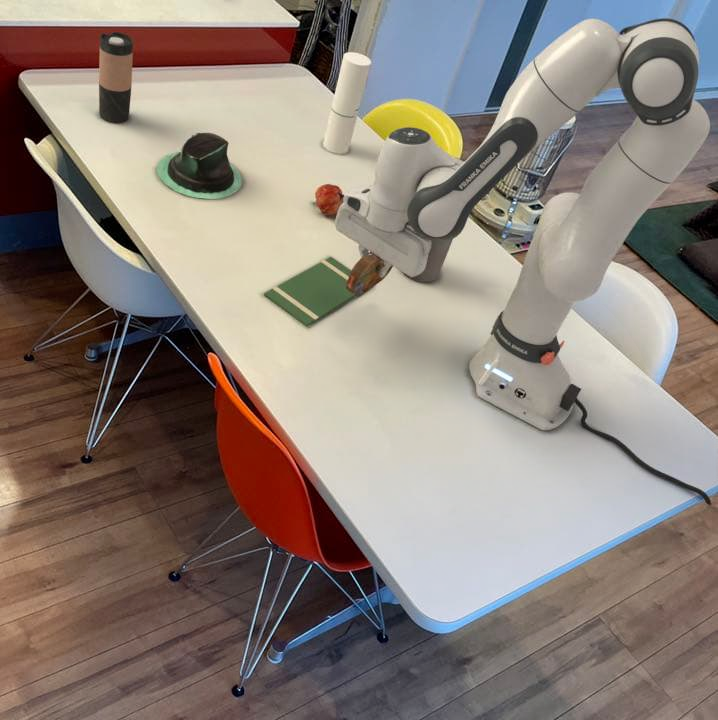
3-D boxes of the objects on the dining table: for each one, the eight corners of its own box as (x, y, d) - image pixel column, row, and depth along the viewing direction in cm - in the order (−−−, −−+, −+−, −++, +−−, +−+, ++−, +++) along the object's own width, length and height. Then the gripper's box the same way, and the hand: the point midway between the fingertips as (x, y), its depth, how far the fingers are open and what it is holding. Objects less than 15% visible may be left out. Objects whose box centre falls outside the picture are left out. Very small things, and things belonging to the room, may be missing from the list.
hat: (227, 207, 178) (142, 183, 178) (242, 204, 197) (165, 183, 196) (242, 141, 175) (156, 117, 175) (256, 145, 193) (177, 123, 193)
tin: (350, 303, 151) (364, 272, 146) (338, 294, 152) (351, 262, 146) (391, 274, 162) (405, 243, 156) (379, 265, 163) (393, 234, 157)
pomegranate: (306, 220, 188) (337, 215, 182) (300, 189, 186) (331, 183, 180) (326, 214, 194) (357, 209, 187) (319, 184, 192) (350, 178, 185)
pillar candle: (390, 264, 179) (408, 210, 169) (416, 252, 186) (435, 199, 176) (421, 288, 176) (442, 234, 166) (447, 274, 182) (468, 221, 172)
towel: (371, 286, 172) (372, 284, 171) (306, 326, 157) (307, 324, 156) (330, 258, 175) (330, 256, 175) (263, 295, 161) (264, 292, 160)
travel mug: (126, 126, 195) (129, 48, 181) (94, 119, 193) (95, 40, 180) (133, 112, 200) (136, 36, 187) (102, 105, 199) (104, 28, 186)
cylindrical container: (353, 148, 215) (376, 61, 198) (339, 156, 210) (361, 67, 193) (332, 137, 217) (353, 50, 200) (318, 144, 212) (338, 55, 195)
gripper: (443, 232, 144) (423, 290, 153) (357, 181, 151) (343, 239, 160) (424, 244, 140) (405, 303, 149) (337, 190, 146) (324, 250, 156)
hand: (372, 269), depth 154 cm, fingers closed on tin, 2 cm apart
